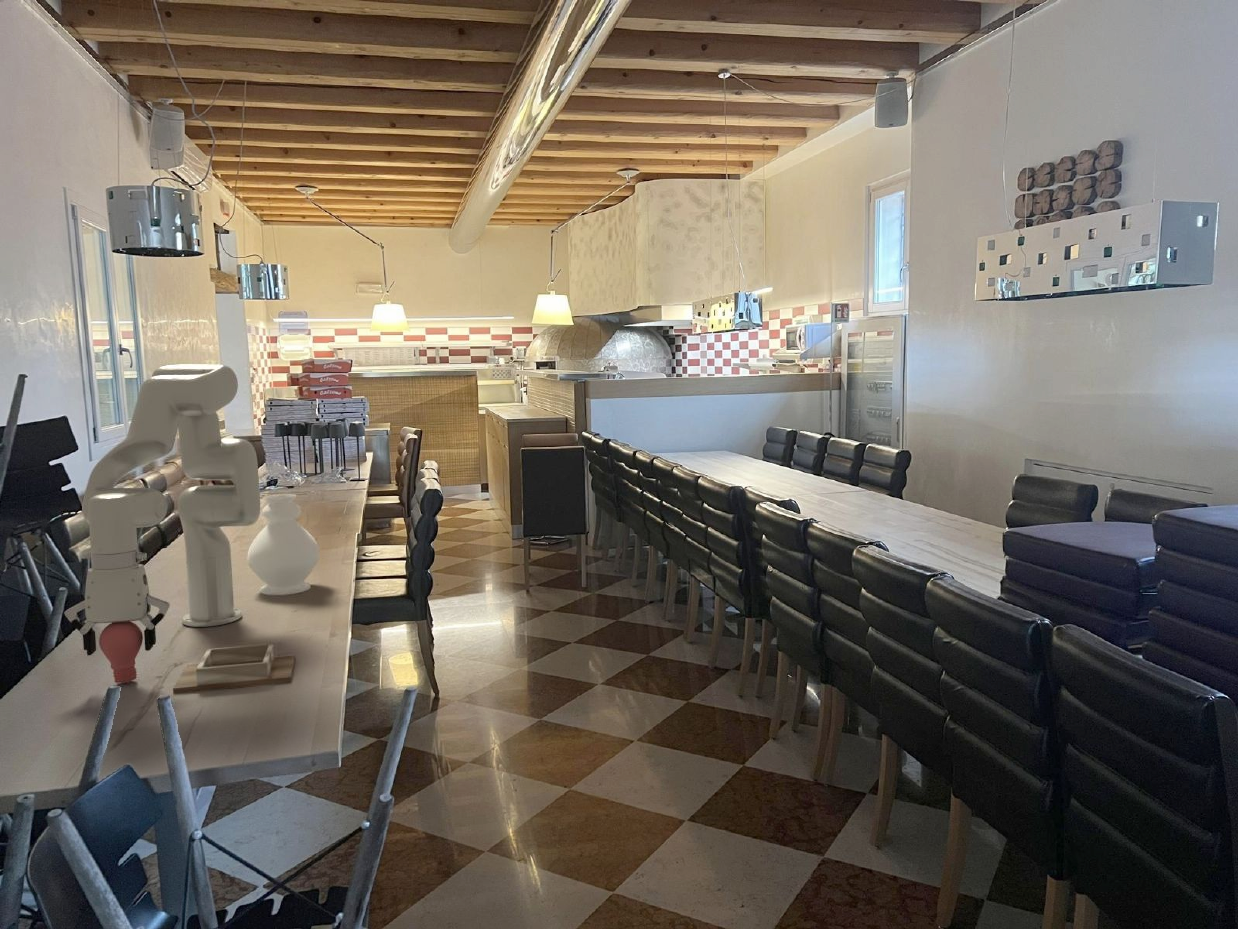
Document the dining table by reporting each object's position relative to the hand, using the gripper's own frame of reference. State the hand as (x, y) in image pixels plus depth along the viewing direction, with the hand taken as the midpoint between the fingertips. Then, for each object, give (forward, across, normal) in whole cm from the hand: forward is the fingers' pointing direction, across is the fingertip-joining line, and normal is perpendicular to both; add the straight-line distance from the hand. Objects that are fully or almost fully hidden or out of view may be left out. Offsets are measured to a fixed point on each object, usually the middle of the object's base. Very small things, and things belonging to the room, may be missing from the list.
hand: (120, 651), depth 165 cm
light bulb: (+7, 0, -1) cm, 7 cm away
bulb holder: (+6, -20, +1) cm, 21 cm away
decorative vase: (+5, -23, -66) cm, 70 cm away
